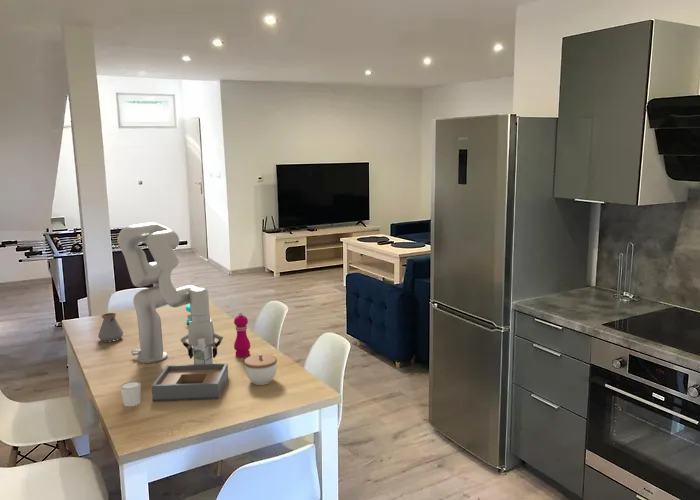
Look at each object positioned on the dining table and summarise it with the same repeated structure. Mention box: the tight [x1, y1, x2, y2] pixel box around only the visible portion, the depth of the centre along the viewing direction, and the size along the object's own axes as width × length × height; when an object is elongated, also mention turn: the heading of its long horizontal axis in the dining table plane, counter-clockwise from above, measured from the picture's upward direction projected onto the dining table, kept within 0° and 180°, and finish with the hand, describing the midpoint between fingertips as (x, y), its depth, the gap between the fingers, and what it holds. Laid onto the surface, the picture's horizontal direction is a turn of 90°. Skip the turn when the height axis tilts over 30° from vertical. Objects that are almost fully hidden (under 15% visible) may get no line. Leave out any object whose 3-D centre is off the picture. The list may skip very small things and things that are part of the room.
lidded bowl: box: [244, 353, 278, 386], centre depth 215 cm, size 13×13×11 cm
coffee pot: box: [97, 312, 124, 342], centre depth 264 cm, size 21×12×15 cm, turn 30°
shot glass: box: [120, 381, 142, 407], centre depth 198 cm, size 7×7×7 cm
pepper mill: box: [233, 311, 251, 359], centre depth 243 cm, size 7×7×20 cm
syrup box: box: [192, 338, 214, 365], centre depth 228 cm, size 6×6×14 cm
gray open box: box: [150, 363, 229, 402], centre depth 209 cm, size 24×20×6 cm
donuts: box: [185, 303, 191, 325], centre depth 295 cm, size 10×10×10 cm
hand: (203, 357), depth 229 cm, fingers open, 9 cm apart
